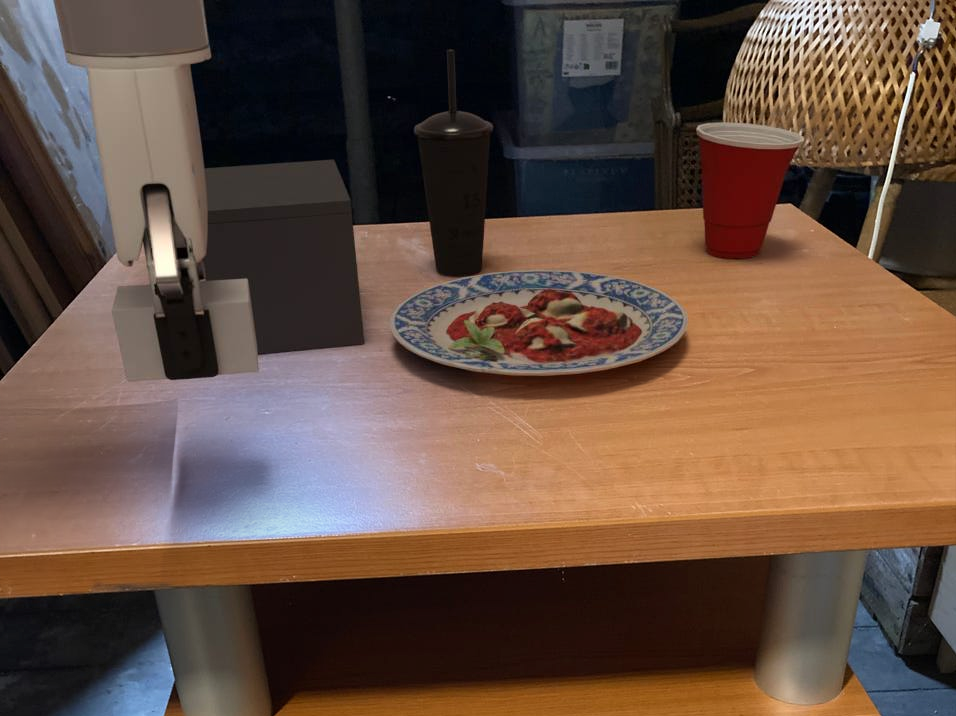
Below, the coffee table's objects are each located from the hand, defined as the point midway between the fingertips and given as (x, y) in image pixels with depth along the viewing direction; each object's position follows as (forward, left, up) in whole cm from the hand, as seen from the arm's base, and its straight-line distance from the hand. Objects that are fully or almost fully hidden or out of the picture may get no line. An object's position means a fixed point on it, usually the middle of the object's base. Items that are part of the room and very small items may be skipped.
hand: (193, 358), depth 64 cm
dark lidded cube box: (+6, +30, -8) cm, 32 cm away
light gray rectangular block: (0, 0, 0) cm, 0 cm away
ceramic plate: (+28, +19, -9) cm, 35 cm away
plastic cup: (+55, +39, -9) cm, 68 cm away
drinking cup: (+25, +41, -9) cm, 49 cm away
